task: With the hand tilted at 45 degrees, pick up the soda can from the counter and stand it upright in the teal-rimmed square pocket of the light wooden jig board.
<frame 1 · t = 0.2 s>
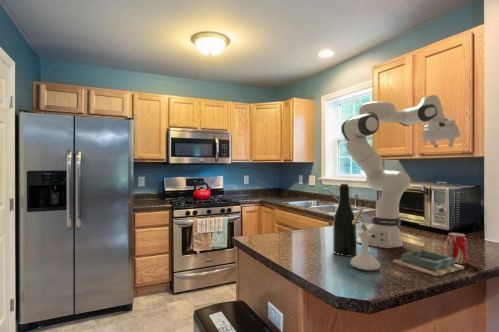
hand: (443, 147, 161), 52 cm above the countertop, tool tilted 20°, fingers open, 8 cm apart
jig: (427, 266, 117), on the countertop
soda can: (457, 262, 122), on the countertop
flower in vase: (364, 269, 115), on the countertop
dark green wine bottle: (344, 253, 136), on the countertop
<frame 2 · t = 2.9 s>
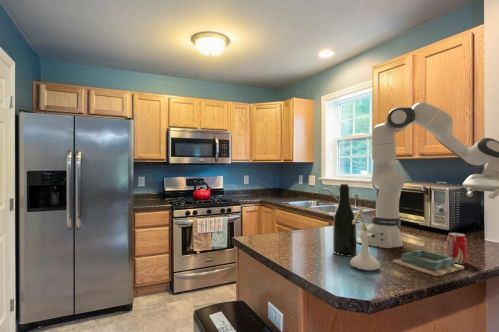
hand: (479, 196, 125), 28 cm above the countertop, tool tilted 45°, fingers open, 8 cm apart
nothing on the countertop moved.
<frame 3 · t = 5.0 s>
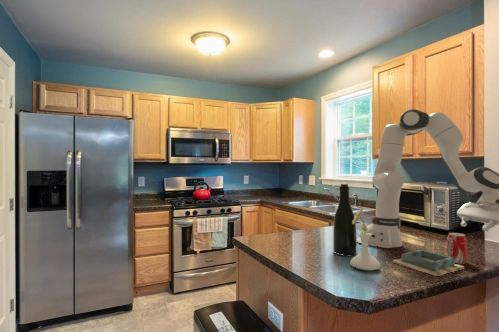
hand: (473, 227, 124), 14 cm above the countertop, tool tilted 45°, fingers open, 8 cm apart
nothing on the countertop moved.
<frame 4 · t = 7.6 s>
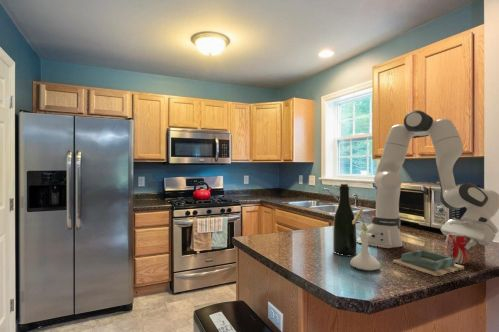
hand: (456, 245, 122), 7 cm above the countertop, tool tilted 45°, fingers closed on soda can, 7 cm apart
soda can: (457, 262, 122), on the countertop, touching gripper
everything else where it was.
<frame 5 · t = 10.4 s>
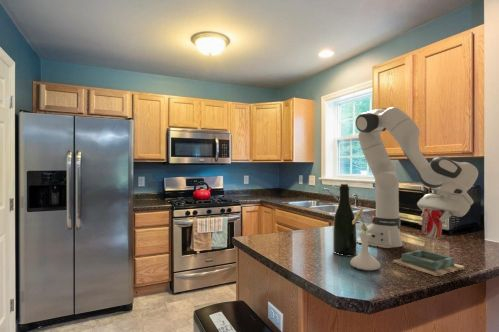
hand: (431, 218, 118), 19 cm above the countertop, tool tilted 45°, fingers closed on soda can, 7 cm apart
soda can: (431, 237, 118), point 11 cm above the countertop, touching gripper
everything else where it was.
when the fingers open (10 cm above the countertop, at t = 13.6 s): soda can stays where it is, resting on jig.
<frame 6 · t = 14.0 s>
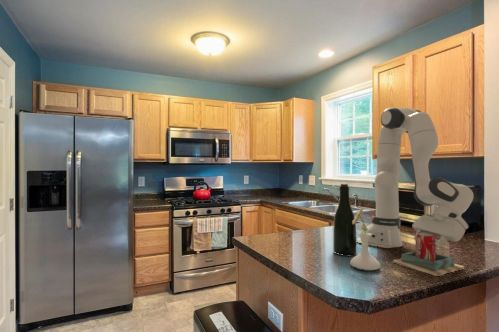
hand: (425, 242, 117), 10 cm above the countertop, tool tilted 45°, fingers open, 8 cm apart
soda can: (425, 263, 118), point 1 cm above the countertop, touching jig
everything else where it was.
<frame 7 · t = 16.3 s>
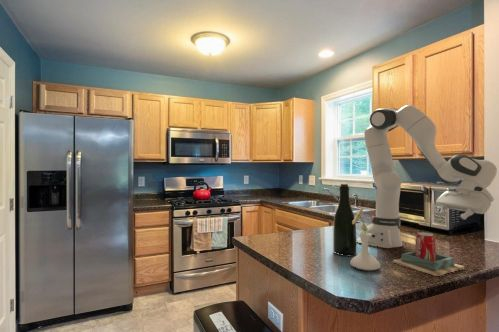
hand: (451, 216, 121), 20 cm above the countertop, tool tilted 45°, fingers open, 8 cm apart
nothing on the countertop moved.
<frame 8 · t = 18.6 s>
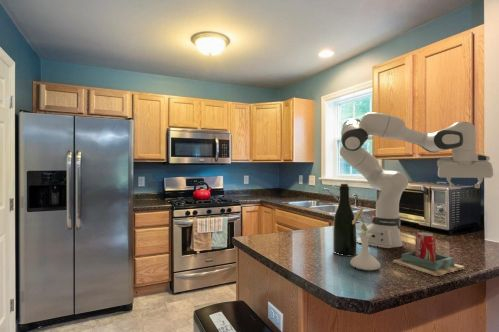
hand: (464, 187, 131), 31 cm above the countertop, tool pointing down, fingers open, 8 cm apart
nothing on the countertop moved.
at the end: soda can 0.6 cm off-centre on the jig, point 1.0 cm above the jig's base; soda can tilted 0°; the gripper is holding nothing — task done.
